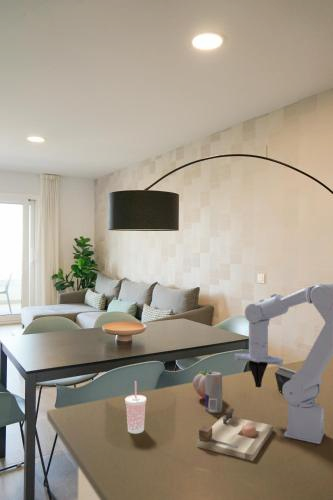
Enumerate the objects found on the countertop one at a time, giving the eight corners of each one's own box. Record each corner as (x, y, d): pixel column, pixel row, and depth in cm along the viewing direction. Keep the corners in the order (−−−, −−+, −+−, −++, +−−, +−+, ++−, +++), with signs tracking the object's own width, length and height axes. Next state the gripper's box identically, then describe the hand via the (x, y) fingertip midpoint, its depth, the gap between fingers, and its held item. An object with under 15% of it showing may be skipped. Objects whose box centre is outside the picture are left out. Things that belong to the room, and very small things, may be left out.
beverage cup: (137, 423, 122) (136, 376, 122) (150, 430, 117) (150, 381, 117) (120, 429, 118) (120, 381, 117) (134, 436, 113) (134, 386, 113)
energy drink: (211, 405, 135) (211, 369, 135) (225, 409, 132) (225, 372, 132) (202, 410, 131) (202, 373, 131) (216, 415, 128) (216, 376, 128)
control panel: (273, 430, 117) (273, 420, 117) (252, 461, 100) (252, 449, 100) (223, 420, 124) (223, 410, 124) (196, 446, 107) (196, 436, 107)
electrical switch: (304, 397, 143) (303, 371, 142) (294, 401, 140) (292, 375, 140) (284, 389, 151) (282, 364, 151) (274, 393, 148) (272, 368, 148)
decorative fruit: (224, 400, 140) (224, 371, 140) (206, 405, 135) (206, 375, 135) (207, 392, 148) (207, 364, 148) (188, 397, 143) (188, 368, 143)
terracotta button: (257, 437, 113) (257, 426, 113) (253, 442, 109) (253, 431, 109) (244, 434, 114) (244, 423, 114) (240, 439, 111) (240, 428, 111)
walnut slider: (212, 436, 109) (212, 427, 109) (207, 441, 107) (207, 431, 106) (203, 434, 110) (203, 425, 110) (199, 439, 108) (199, 429, 108)
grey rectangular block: (230, 417, 121) (234, 409, 121) (227, 420, 119) (230, 413, 118) (228, 415, 122) (232, 408, 121) (224, 419, 119) (228, 411, 119)
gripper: (232, 342, 125) (232, 387, 125) (281, 347, 120) (281, 393, 120) (237, 338, 132) (237, 380, 132) (283, 342, 126) (283, 386, 126)
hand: (258, 386), depth 126 cm, fingers closed
